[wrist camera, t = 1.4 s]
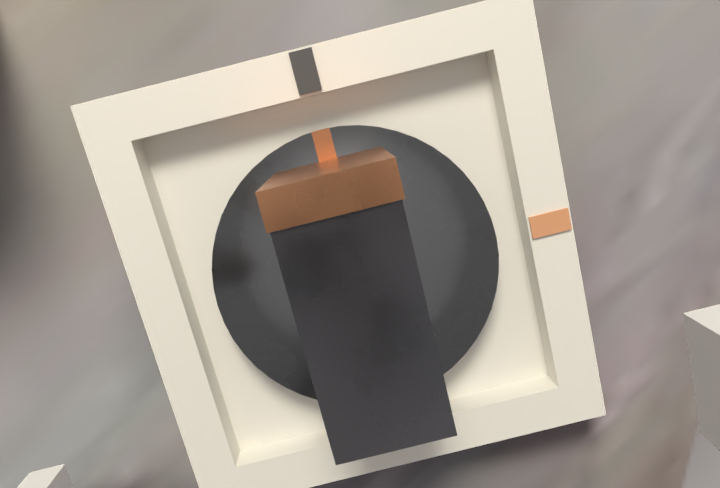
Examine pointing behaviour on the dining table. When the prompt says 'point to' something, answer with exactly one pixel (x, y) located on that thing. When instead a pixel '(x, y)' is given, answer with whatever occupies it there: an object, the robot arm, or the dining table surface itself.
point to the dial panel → (324, 110)
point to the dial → (358, 280)
